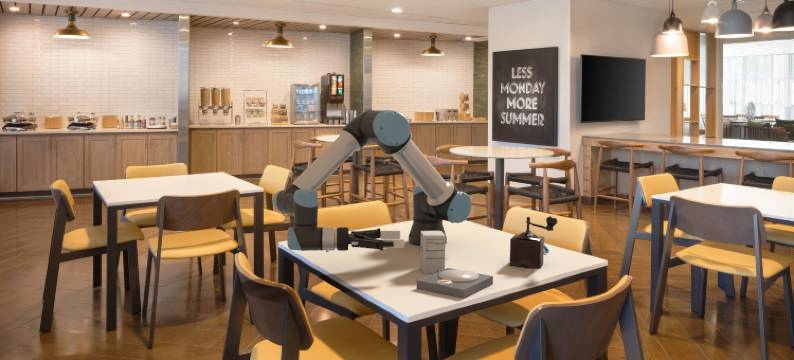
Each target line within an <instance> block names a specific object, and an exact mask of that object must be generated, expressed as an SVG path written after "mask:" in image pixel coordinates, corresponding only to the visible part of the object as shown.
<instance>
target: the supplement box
mask: <svg viewBox="0 0 794 360" xmlns="http://www.w3.org/2000/svg"><path fill="white" fill-rule="evenodd" d="M419 249H420V253H419V254H420V255H419V258H420V259H419V265H420V266H419V267H420V269H421V271H422V273H423V274H434V273H436V272H439V271H441V270H444V269H446V244H445V235H444V233H443V232H442V231H421V246H420V248H419Z"/></svg>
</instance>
